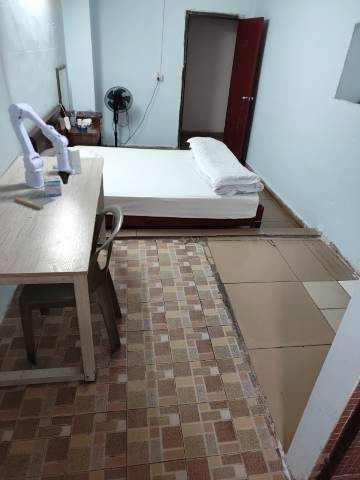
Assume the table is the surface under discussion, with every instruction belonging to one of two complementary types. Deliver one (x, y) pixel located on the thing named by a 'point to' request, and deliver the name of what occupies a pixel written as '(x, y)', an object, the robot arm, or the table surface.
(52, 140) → the robot arm
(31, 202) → the level mat
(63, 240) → the table surface
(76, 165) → the skincare box
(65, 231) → the table surface
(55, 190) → the medicine box
